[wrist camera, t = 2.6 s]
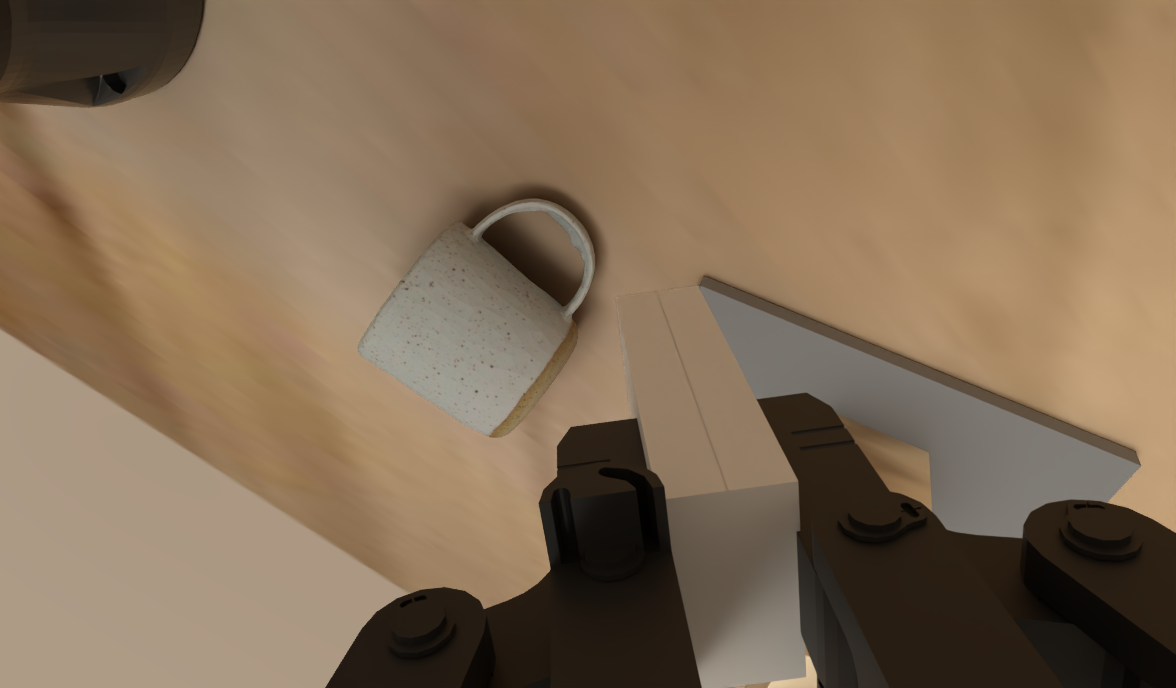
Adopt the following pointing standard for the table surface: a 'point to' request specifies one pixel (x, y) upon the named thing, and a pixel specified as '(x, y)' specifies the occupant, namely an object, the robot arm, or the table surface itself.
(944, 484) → the felt mat
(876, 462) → the beech block
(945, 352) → the table surface
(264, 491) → the table surface
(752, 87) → the table surface
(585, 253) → the ceramic mug
